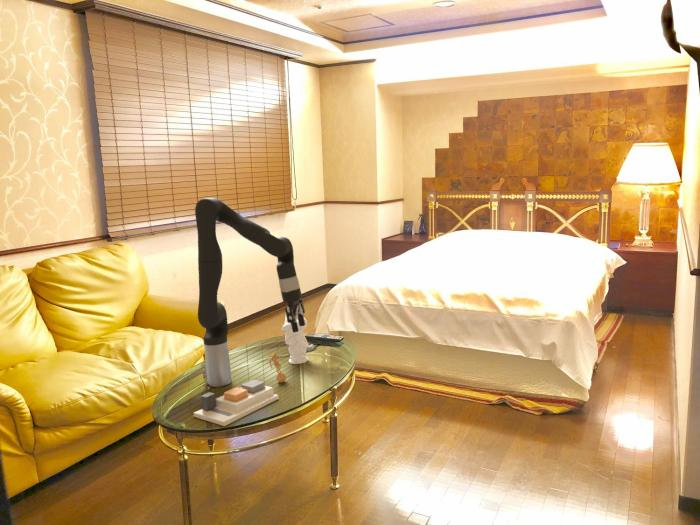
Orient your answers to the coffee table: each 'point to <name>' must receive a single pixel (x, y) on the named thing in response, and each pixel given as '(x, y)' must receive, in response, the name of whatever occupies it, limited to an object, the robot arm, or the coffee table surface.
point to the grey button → (253, 386)
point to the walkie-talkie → (309, 347)
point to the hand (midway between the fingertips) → (299, 328)
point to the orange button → (235, 394)
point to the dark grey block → (208, 401)
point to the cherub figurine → (296, 342)
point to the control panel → (236, 407)
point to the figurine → (278, 368)
